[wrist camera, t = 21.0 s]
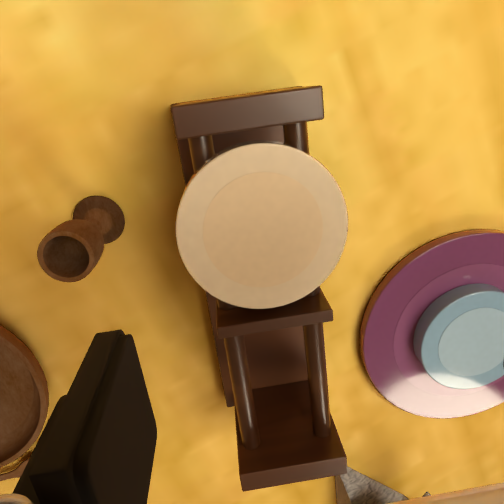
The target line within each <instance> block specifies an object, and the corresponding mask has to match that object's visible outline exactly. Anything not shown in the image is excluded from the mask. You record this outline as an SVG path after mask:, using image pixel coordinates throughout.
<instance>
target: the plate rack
mask: <svg viewBox="0 0 504 504" xmlns="http://www.w3.org/2000/svg"><path fill="white" fill-rule="evenodd" d="M171 113H172V119H173V124H174V129H175V135H176V138H177V143H178V148H179V154H180V159H181V164H182V170H183V175H184V180H185V186H186V185H187V184H188V182H189V180H190V179H191V177H192V175H193V174H194V173H195V172H196V171H197V169H198V168H199V167H200V166H201V165H202V164H203V163H204V162H205V161H206V160H208V159H209V158H210V157H212V156H213V155H214V154H216V153H217V152H219V151H221V150H223V149H225V148H227V147H229V146H232V145H235V144H238V143H242V142H247V141H254V140H270V141H277V142H282V143H286V144H288V145H291V146H294V147H296V148H298V149H300V150H302V151H304V152H306V153H307V154H309V146H308V133H307V122H308V121H315V120H322V119H324V107H323V91H322V86H306V87H302V86H297V87H290V88H283V89H276V90H269V91H261V92H254V93H247V94H240V95H233V96H225V97H218V98H211V99H204V100H197V101H189V102H182V103H175V104H171ZM205 292H206V297H207V303H208V308H209V313H210V319H211V324H212V329H213V335H214V340H215V345H216V351H217V356H218V361H219V367H220V372H221V377H222V383H223V388H224V393H225V399H226V404H227V407H232V406H235V419H236V433H237V447H238V462H239V475H240V481H241V486H242V491H249V490H255V489H261V488H266V487H272V486H278V485H284V484H290V483H295V482H301V481H307V480H313V479H318V478H324V477H330V476H336V475H342V474H347V458H346V454H345V452H344V449H343V446H342V443H341V441H340V438H339V435H338V433H337V430H336V427H335V425H334V422H333V419H332V416H331V414H330V410H329V397H328V384H327V372H326V359H325V347H324V334H323V322H329V321H333V311H332V309H331V307H330V305H329V303H328V301H327V299H326V298H325V296H324V294H323V292H322V290H321V289H320V286H318V287H317V288H316V289H315V290H314V291H312V292H311V293H309V294H308V295H306V296H305V297H303V298H301V299H299V300H297V301H295V302H292V303H289V304H286V305H284V306H279V307H275V308H266V309H250V308H243V307H239V306H235V305H231V304H229V303H226V302H224V301H221V300H220V299H218V298H216V297H214V296H212V295H211V294H210V293H208V292H207V291H205Z"/></svg>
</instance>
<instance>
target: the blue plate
mask: <svg viewBox="0 0 504 504" xmlns="http://www.w3.org/2000/svg"><path fill="white" fill-rule="evenodd" d="M413 346H414V352H415V355H416V358H417V360H418V361H419V363H420V364H421V366H422V367H423V368H424V370H425V371H426V372H427V373H428V375H429V376H430V377H431V378H432V379H433V380H435V381H436V382H438V383H439V384H441V385H444V386H446V387H450V388H455V389H472V388H477V387H481V386H484V385H487V384H489V383H491V382H494V381H495V380H497V379H499V378H500V377H502V376H503V375H504V367H503V361H504V290H503V289H501V288H499V287H496V286H493V285H489V284H477V283H476V284H468V285H463V286H460V287H457V288H454V289H452V290H450V291H448V292H446V293H444V294H443V295H441V296H440V297H438V298H437V299H436V300H435V301H433V302H432V303H431V304H430V305H429V306H428V308H427V309H426V310H425V311H424V313H423V314H422V316H421V317H420V319H419V321H418V323H417V326H416V328H415V332H414V338H413Z"/></svg>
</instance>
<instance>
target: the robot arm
mask: <svg viewBox="0 0 504 504" xmlns="http://www.w3.org/2000/svg"><path fill="white" fill-rule="evenodd" d="M503 367H504V361H503ZM156 440H157V428H156V422H155V418H154V414H153V411H152V407H151V403H150V399H149V396H148V392H147V388H146V384H145V381H144V377H143V373H142V369H141V366H140V362H139V358H138V354H137V351H136V347H135V343H134V340H133V337H132V335H131V334H128V335H125V334H124V332H123V331H122V330H115V331H109V332H102V333H97V334H96V335H95V337H94V339H93V341H92V343H91V345H90V347H89V349H88V351H87V353H86V355H85V358H84V360H83V362H82V364H81V366H80V368H79V370H78V372H77V374H76V377H75V379H74V381H73V383H72V385H71V387H70V389H69V391H68V393H67V395H64V396H62V397H61V398H60V399H59V401H58V402H57V404H56V406H55V408H54V410H53V412H52V414H51V416H50V418H49V420H48V422H47V424H46V427H45V429H44V431H43V433H42V435H41V437H40V439H39V441H38V443H37V445H36V447H35V449H34V451H33V453H32V455H31V457H30V459H29V461H28V463H27V465H26V467H25V469H24V471H23V473H22V475H21V477H20V479H19V481H18V483H17V485H16V487H15V489H14V491H13V493H12V494H4V495H0V504H147V498H148V492H149V485H150V479H151V472H152V466H153V459H154V453H155V447H156ZM387 504H504V483H498V484H493V485H487V486H482V487H476V488H470V489H465V490H459V491H454V492H448V493H443V494H437V495H432V496H426V497H420V498H415V499H409V500H404V501H398V502H393V503H387Z"/></svg>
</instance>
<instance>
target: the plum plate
mask: <svg viewBox="0 0 504 504" xmlns="http://www.w3.org/2000/svg"><path fill="white" fill-rule="evenodd" d="M476 283H477V284H489V285H493V286H496V287H499V288H501V289H503V290H504V231H499V230H488V229H478V230H466V231H462V232H457V233H453V234H449V235H446V236H443V237H441V238H438V239H436V240H433V241H431V242H429V243H427V244H425V245H423V246H422V247H420V248H418V249H417V250H415V251H413V252H412V253H410V254H409V255H408V256H407V257H405V258H404V259H403V260H402V261H400V262H399V263H398V264H397V265H396V266H395V267H394V268H393V269H392V270H391V271H390V272H389V273H388V274H387V275H386V277H385V278H384V279H383V280H382V281H381V283H380V284H379V286H378V287H377V289H376V290H375V292H374V293H373V295H372V297H371V299H370V301H369V303H368V305H367V308H366V310H365V314H364V317H363V320H362V325H361V331H360V351H361V357H362V361H363V364H364V367H365V369H366V371H367V373H368V376H369V377H370V379H371V381H372V383H373V384H374V386H375V387H376V389H377V390H378V391H379V392H380V393H381V394H382V395H383V396H384V397H385V399H387V400H388V401H389V402H391V403H392V404H393V405H395V406H397V407H399V408H400V409H402V410H404V411H407V412H409V413H412V414H415V415H419V416H423V417H430V418H456V417H463V416H468V415H472V414H476V413H479V412H482V411H485V410H488V409H490V408H492V407H495V406H497V405H499V404H501V403H503V402H504V375H503V376H502V377H500V378H499V379H497V380H495V381H494V382H491V383H489V384H487V385H484V386H481V387H477V388H472V389H455V388H450V387H446V386H444V385H441V384H439V383H438V382H436V381H435V380H433V379H432V378H431V377H430V376H429V375H428V373H427V372H426V371H425V370H424V368H423V367H422V366H421V364H420V363H419V361H418V360H417V358H416V355H415V352H414V346H413V338H414V332H415V328H416V326H417V323H418V321H419V319H420V317H421V316H422V314H423V313H424V311H425V310H426V309H427V308H428V306H429V305H430V304H431V303H432V302H433V301H435V300H436V299H437V298H438V297H440V296H441V295H443V294H444V293H446V292H448V291H450V290H452V289H454V288H457V287H460V286H463V285H468V284H476Z"/></svg>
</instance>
